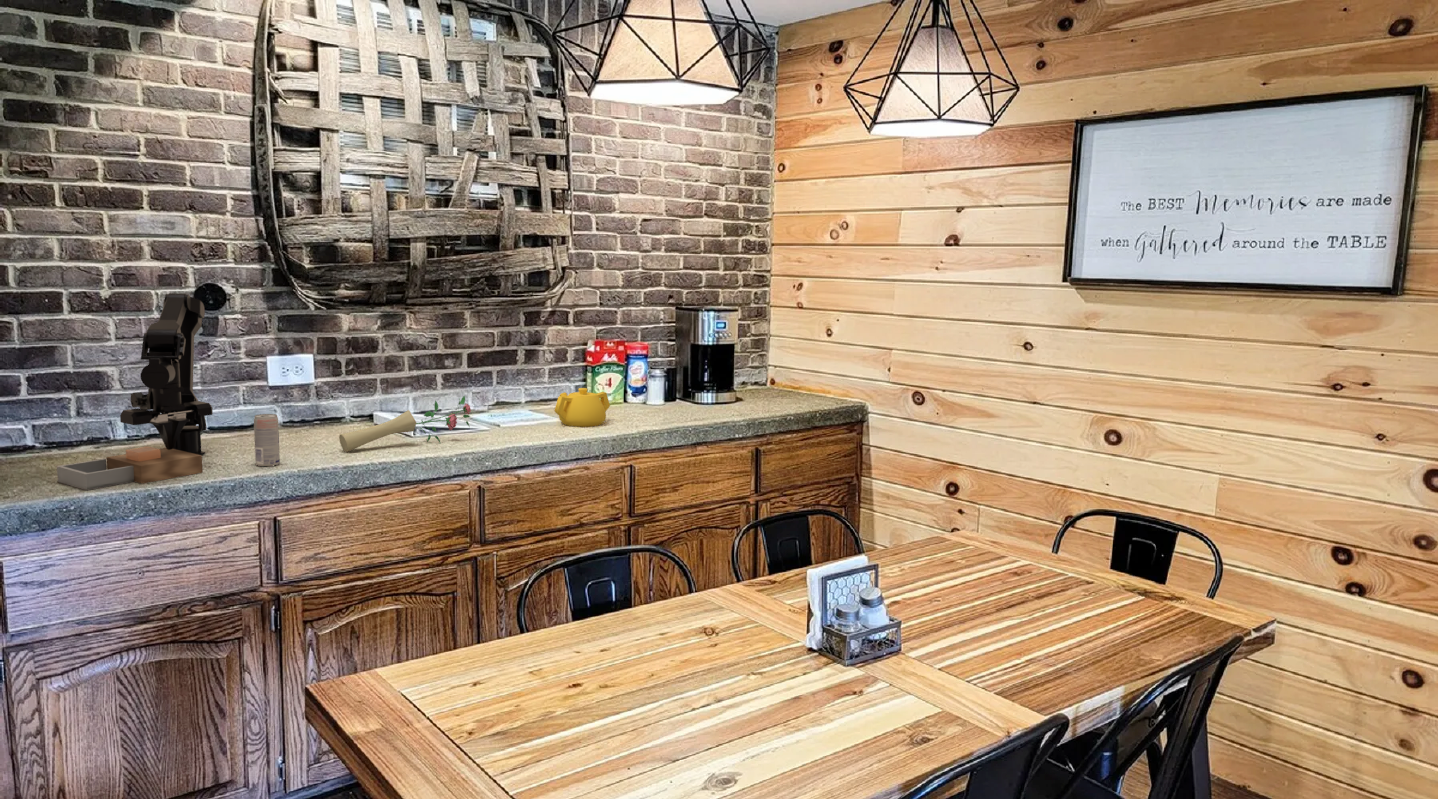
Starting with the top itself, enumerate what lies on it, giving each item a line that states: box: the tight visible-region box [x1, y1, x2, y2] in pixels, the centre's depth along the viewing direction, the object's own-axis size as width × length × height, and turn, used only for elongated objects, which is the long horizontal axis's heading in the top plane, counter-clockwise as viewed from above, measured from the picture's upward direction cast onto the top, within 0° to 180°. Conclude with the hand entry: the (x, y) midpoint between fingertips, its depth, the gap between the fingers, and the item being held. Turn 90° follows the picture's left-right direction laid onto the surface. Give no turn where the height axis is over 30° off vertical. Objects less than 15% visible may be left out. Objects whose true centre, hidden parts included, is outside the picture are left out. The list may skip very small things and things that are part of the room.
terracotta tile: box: [125, 445, 161, 461], centre depth 228 cm, size 5×5×2 cm
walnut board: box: [105, 447, 204, 484], centre depth 230 cm, size 14×14×4 cm
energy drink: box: [253, 413, 281, 467], centre depth 242 cm, size 5×5×12 cm
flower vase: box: [338, 395, 471, 453], centre depth 270 cm, size 12×12×35 cm
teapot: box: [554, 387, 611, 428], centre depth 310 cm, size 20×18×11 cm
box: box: [56, 458, 135, 491], centre depth 221 cm, size 10×12×4 cm
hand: (169, 449), depth 233 cm, fingers closed
